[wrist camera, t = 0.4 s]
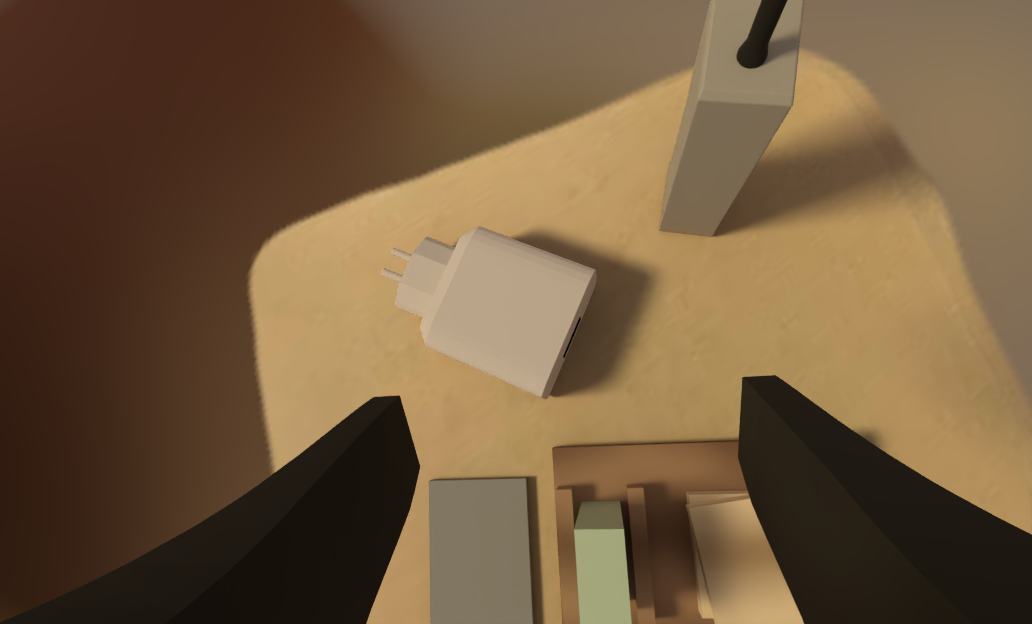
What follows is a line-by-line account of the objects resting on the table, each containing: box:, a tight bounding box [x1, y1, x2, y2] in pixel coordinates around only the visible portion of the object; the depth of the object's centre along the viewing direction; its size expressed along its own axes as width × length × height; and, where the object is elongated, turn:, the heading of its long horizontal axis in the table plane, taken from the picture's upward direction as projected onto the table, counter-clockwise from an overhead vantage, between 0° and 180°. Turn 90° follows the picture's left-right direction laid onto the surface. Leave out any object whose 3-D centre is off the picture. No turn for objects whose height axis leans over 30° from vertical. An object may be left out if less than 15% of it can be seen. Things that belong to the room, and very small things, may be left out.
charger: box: [381, 227, 597, 399], centre depth 36 cm, size 5×9×15 cm
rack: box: [552, 441, 747, 624], centre depth 31 cm, size 13×18×2 cm
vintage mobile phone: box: [659, 0, 804, 236], centre depth 25 cm, size 4×5×25 cm
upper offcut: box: [686, 495, 804, 624], centre depth 30 cm, size 7×5×1 cm
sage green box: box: [574, 501, 632, 624], centre depth 29 cm, size 6×2×8 cm, turn 3°
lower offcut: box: [686, 490, 749, 619], centre depth 31 cm, size 7×5×1 cm
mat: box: [429, 477, 534, 624], centre depth 35 cm, size 10×7×1 cm
